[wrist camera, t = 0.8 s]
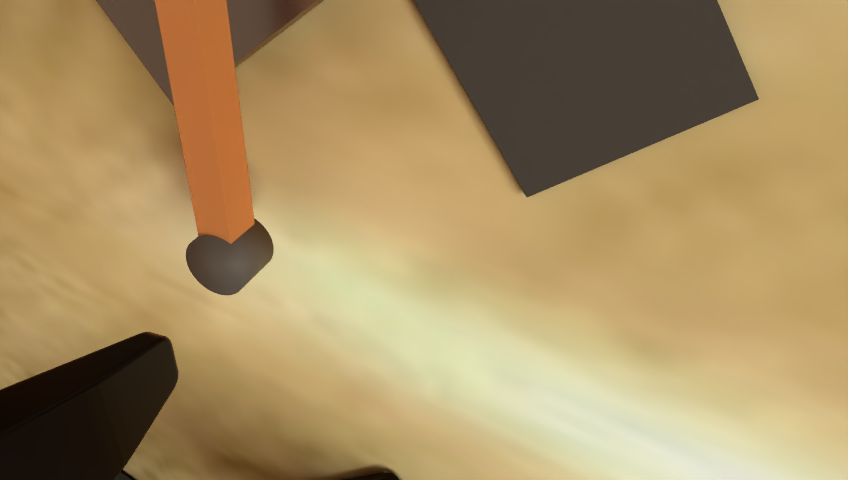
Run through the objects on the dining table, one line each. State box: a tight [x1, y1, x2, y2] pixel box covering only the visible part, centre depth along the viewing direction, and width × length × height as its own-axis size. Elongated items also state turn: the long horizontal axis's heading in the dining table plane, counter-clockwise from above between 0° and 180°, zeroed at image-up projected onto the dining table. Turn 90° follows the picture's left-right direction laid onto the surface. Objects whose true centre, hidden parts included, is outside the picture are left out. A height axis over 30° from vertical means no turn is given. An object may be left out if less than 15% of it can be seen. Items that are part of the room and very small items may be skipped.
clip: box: [155, 0, 273, 295], centre depth 17 cm, size 13×8×4 cm, turn 178°
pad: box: [413, 0, 759, 197], centre depth 17 cm, size 7×7×1 cm
